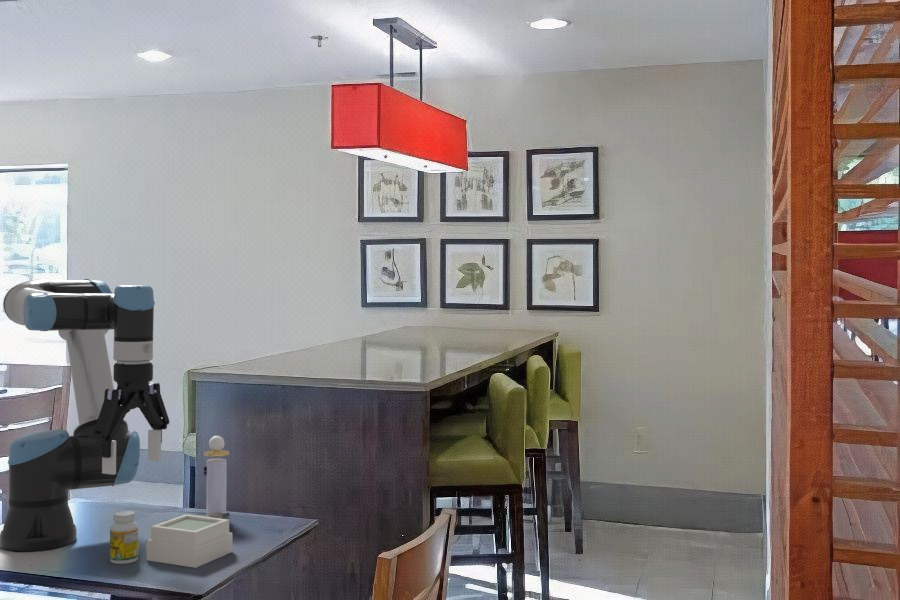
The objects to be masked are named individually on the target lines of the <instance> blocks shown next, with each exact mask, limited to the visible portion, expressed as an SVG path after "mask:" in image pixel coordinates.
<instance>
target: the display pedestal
mask: <svg viewBox="0 0 900 600" xmlns="http://www.w3.org/2000/svg"><path fill="white" fill-rule="evenodd" d="M229 520H230V519H229ZM229 520H228V519H220V518H212V517H204V516H200V515H197V514H196V515H195V514H188V513H186V514H182V515H180V516H177V517H174V518H171V519H168V520H165V521H162V522H159V523H156V524H154V525H151V526H150V539H147V540H146V561H149V562H153V563H161V564H168V565H175V566H180V567H181V566H182V567H188V568H194V569H196V568H198V567H201V566H203V565H206V564H208V563H210V562H213V561H215V560H217V559H219V558H220V559H221V557H224V556H227V555H229V554H230V553H231V554H232V553H233V540H234V539H233V533H234V532H230V523H229Z"/></svg>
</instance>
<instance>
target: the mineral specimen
mask: <svg viewBox="0 0 900 600" xmlns="http://www.w3.org/2000/svg"><path fill="white" fill-rule="evenodd" d="M199 516H204V517H212V518H220V519H228V520H229V524H230V523H232V521H231V519H230V516H231V514H230V512H226V513H220V512H214V513H210V514H200V515H199Z"/></svg>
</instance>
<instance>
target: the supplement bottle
mask: <svg viewBox="0 0 900 600" xmlns="http://www.w3.org/2000/svg"><path fill="white" fill-rule="evenodd" d="M135 515H136V514H135V511H133V510H132V511H131V510H123V511H121V510H120V511H117V512H116V511H115V512H114V513H113V521H114V522H113V523H112V524H111V525H110V528H109V529H110V530H109V535H110V536H109V538H110V539H109V541H110V542H109V543H110V544H109V545H110V546H109V553H110V554H109V557H110V559H109V561H110V563H112V564H114V565H116V564H117V565H127V564H132V563H135V562H137V561H138V560H139V525H138V523H137V522H136V521H135V519H136V516H135Z"/></svg>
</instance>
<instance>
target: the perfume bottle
mask: <svg viewBox="0 0 900 600" xmlns="http://www.w3.org/2000/svg"><path fill="white" fill-rule="evenodd" d="M225 445H226V444H225V440H224V438H223V437H222V436H220V435H214V436H212V437H211V438H210V439H209V441H208V447H209V449H210V450H205V451H204V452H203V455H204V456H205V457H214V458H210V459H207V460H206V465H205V466H204V467H203V476H206V486H205V487H206V493H205V495H206V504H205V505H206V507H205V509H206V510H205V511H206V514H210V513H214V512H220V513H227V467H228V466H227V463H228V462H227V459H226V458H218V457H226V456H229V455H230V451H229V450H226V449H224V447H225ZM215 457H217V458H215ZM206 514H205V515H206Z"/></svg>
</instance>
